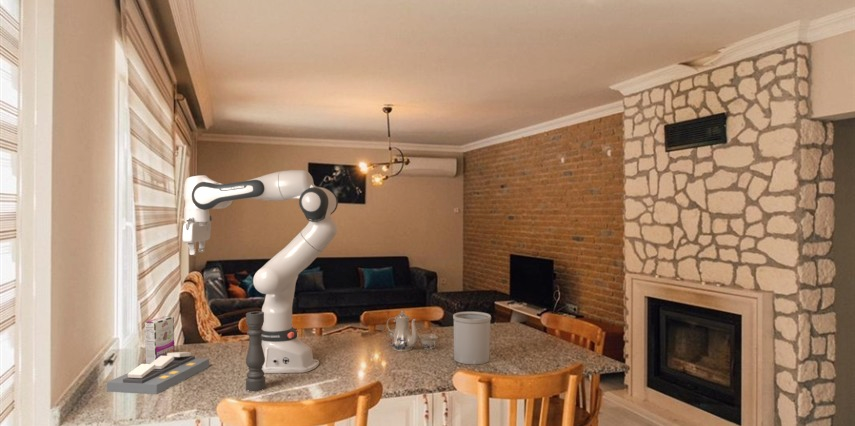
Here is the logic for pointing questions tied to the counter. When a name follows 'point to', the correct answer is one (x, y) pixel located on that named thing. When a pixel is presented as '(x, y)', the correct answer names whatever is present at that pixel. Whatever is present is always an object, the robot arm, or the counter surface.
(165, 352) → the candy bar box
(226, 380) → the counter surface
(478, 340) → the utensil holder
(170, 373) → the switch board
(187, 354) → the switch
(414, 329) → the chinaware
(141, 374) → the switch
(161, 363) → the switch
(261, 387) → the candle holder
